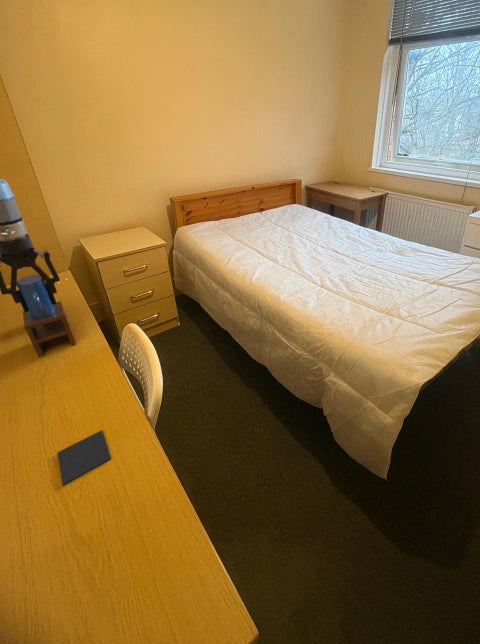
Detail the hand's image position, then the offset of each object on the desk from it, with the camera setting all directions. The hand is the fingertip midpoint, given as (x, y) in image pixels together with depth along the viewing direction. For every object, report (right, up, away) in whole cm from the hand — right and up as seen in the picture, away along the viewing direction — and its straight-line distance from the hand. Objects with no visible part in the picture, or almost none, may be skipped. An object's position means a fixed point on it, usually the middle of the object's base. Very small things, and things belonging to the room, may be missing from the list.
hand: (40, 306), depth 99 cm
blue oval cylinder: (+1, -3, 0) cm, 3 cm away
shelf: (0, -13, +7) cm, 14 cm away
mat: (+32, -31, -27) cm, 52 cm away
